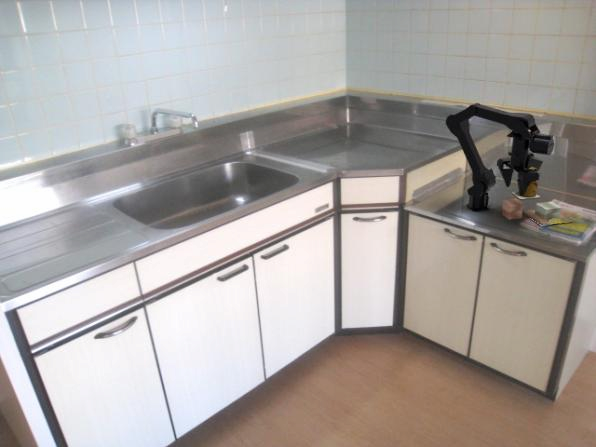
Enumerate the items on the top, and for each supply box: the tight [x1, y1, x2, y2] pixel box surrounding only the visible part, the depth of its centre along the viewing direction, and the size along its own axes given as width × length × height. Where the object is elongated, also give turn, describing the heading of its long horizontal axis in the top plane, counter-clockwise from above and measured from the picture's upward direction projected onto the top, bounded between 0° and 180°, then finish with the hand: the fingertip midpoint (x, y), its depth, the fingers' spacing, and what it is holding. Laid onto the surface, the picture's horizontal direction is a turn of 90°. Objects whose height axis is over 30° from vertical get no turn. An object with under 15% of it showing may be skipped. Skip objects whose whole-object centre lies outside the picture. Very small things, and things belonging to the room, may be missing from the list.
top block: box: [501, 198, 524, 221], centre depth 186 cm, size 5×5×6 cm
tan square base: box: [522, 201, 573, 225], centre depth 183 cm, size 12×12×5 cm
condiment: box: [511, 167, 541, 200], centre depth 202 cm, size 7×8×12 cm
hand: (514, 191), depth 183 cm, fingers open, 9 cm apart
